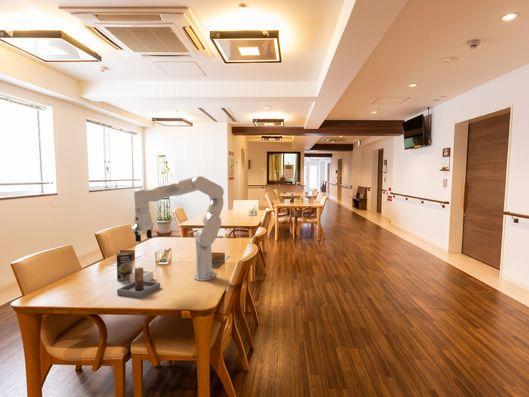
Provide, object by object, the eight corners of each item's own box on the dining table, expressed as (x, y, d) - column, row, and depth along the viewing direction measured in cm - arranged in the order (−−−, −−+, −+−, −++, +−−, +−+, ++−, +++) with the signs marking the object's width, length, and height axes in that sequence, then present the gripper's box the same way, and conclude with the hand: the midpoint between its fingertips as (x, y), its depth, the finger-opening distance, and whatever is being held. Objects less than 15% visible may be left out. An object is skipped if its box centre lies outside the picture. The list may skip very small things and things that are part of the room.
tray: (160, 287, 176) (160, 282, 176) (141, 298, 161) (141, 292, 161) (137, 284, 181) (137, 279, 181) (117, 294, 166) (117, 289, 166)
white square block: (153, 278, 192) (153, 271, 191) (142, 283, 183) (142, 275, 182) (141, 277, 195) (140, 269, 194) (130, 282, 186) (129, 274, 185)
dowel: (145, 288, 173) (144, 267, 172) (139, 291, 168) (139, 270, 168) (139, 287, 174) (138, 267, 173) (133, 290, 170) (132, 269, 169)
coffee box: (117, 281, 188) (116, 255, 187) (117, 278, 194) (115, 253, 192) (133, 278, 192) (132, 253, 191) (132, 275, 198) (131, 251, 197)
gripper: (137, 212, 166) (139, 243, 168) (157, 209, 183) (158, 236, 184) (126, 212, 168) (128, 242, 170) (146, 208, 185) (148, 236, 186)
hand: (144, 239), depth 177 cm, fingers open, 9 cm apart
